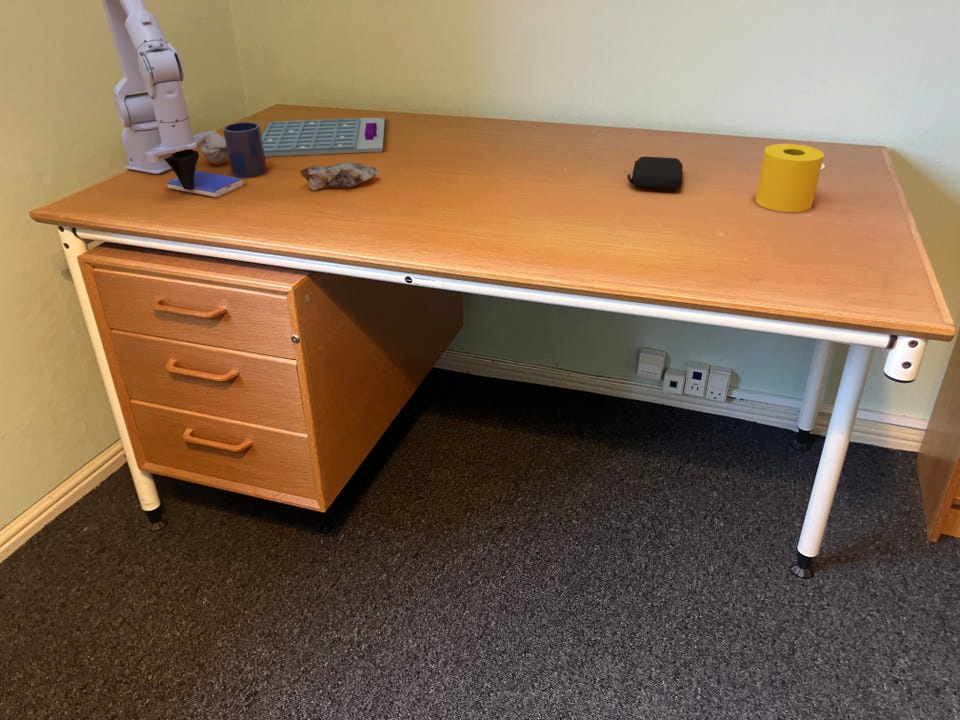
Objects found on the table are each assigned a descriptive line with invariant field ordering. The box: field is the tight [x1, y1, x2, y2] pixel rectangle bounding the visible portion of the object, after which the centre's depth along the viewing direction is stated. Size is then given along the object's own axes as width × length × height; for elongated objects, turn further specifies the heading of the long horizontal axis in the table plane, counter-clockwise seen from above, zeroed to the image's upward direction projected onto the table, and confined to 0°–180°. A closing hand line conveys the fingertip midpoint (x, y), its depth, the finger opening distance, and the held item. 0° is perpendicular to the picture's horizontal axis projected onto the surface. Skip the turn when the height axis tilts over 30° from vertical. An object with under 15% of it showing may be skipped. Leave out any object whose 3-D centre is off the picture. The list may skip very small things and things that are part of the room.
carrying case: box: [626, 156, 684, 193], centre depth 151 cm, size 11×3×15 cm
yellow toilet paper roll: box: [755, 143, 825, 213], centre depth 138 cm, size 10×10×9 cm
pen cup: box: [222, 121, 268, 179], centre depth 157 cm, size 7×7×10 cm
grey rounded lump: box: [198, 130, 229, 166], centre depth 163 cm, size 6×7×7 cm
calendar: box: [261, 116, 386, 158], centre depth 180 cm, size 27×29×2 cm
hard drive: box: [166, 169, 244, 198], centre depth 152 cm, size 2×8×12 cm
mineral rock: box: [300, 161, 380, 192], centre depth 151 cm, size 15×8×4 cm, turn 92°
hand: (188, 189), depth 148 cm, fingers closed
